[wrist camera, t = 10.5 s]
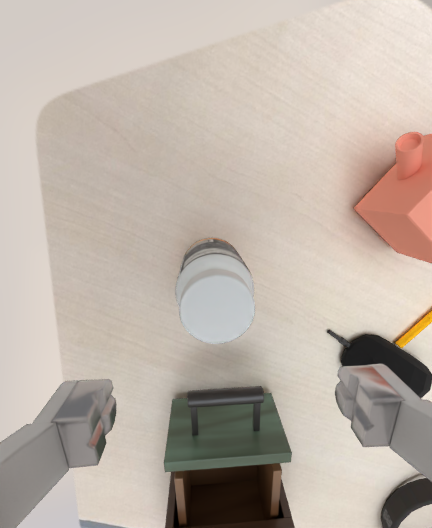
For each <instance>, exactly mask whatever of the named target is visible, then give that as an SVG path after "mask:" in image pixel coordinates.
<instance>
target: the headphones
mask: <svg viewBox="0 0 432 528" xmlns="http://www.w3.org/2000/svg"><path fill="white" fill-rule="evenodd" d="M429 504H432V482H431V481H430V480H429V479H428V478H424V479H419V480H416V481H413V482H410V483H407V484H405V485H404V486H402V487H400V488H398V489H397V490H396V491H395V492H394V493H393V494H392V495H391V496H390V498H389V499H388V500H387V502H386V504H385V506H384V508H383V510H382V516H381V518H382V524H383V528H398V527H399V525H400V523H401V522H402V521H403V520H404V519H405V518H406V517H407V516H408V515H409V514H410V513H411V512H412V511H414V510H416V509H418V508H421V507H423V506H426V505H429Z"/></svg>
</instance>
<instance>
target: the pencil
mask: <svg viewBox="0 0 432 528" xmlns="http://www.w3.org/2000/svg"><path fill="white" fill-rule="evenodd" d="M431 322H432V311H430V312H429V313H428V314H427V315H426V316H425V317H424V318H423V319H421V320H420V321H419V322H418V323H417V324H416V325H415V326H413V327H412V328H411V329H410V330H409V331H408V332H407V333H405V334H404V335H403V336H402V337H401V338H400V339H399V340H398V341H396V342H395V344H397V345H398V346H399V347H400V348H403V347H404V346H405V345H406V344H407V343H408V342H410V341H411V340H412V339H413V338H414V337H415V336H416V335H418V334H419V333H420V332H421V331H422V330H423V329H424V328H426V327H427V326H428V325H429V324H430V323H431Z"/></svg>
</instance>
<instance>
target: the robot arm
mask: <svg viewBox="0 0 432 528" xmlns="http://www.w3.org/2000/svg"><path fill="white" fill-rule="evenodd" d="M338 377H339V379H340V380H341V381H340V382H339V383H338V384H337V385H336V390H335V396H336V401H337V404H338V407H339V409H340V411H341V412H342V414H343V415H344V416H345V417H347V418H348V419H350V420H351V428H352V430H353V432H354V433H355V435H356V436H357V438H358V440H359V441H360V443H361V444H362V446H363V447H377V446H390V448H391V449H392V450H393V451H394V452H396V453H397V454H398V455H399V456H401V457H402V458H403V459H404V460H405V461H407V462H408V463H409V464H410V465H412V466H413V467H414V468H415V469H417V470H418V471H419V472H420V473H422V474H423V475H424V476H425V477H426V478H428V479H429V480H430V481H431V482H432V402H430V401H428V400H422V399H421V398H420V397H419V396H417V395H416V394H415V393H414V392H413V391H412V390H411V389H410V388H409V387H408V386H407V385H406V384H405V383H404V382H403V381H402V380H401V379H400V378H399V377H398V376H397V375H396V374H394V373H393V372H392V371H391V370H390V369H389V368H388V367H387V366H386V365H384V364H371V365H360V366H344V367H340V368H339V370H338ZM112 391H113V384H112V381H111V380H110V379H102V380H80V381H65V382H63V383H62V384H61V385H60V387H59V388H58V389H57V390H56V392H55V393H54V394H53V396H52V397H51V399H50V400H49V401H48V403H47V404H46V405H45V407H44V408H43V409H42V411H41V412H40V414H39V415H38V416H37V418H36V419H35V420H34V422H33V423H32V424H27V425H25V426H23V427H22V428H21V429H19V430H18V431H16V432H15V433H13V434H12V435H10V436H9V437H8V438H6V439H5V440H3V441H2V442H0V528H16V527H17V526H18V525H19V524H20V522H22V521H23V519H24V518H25V517H26V516H27V515H28V514H29V513H30V512H31V511H32V510H33V509H34V508H35V506H36V505H37V504H38V503H39V502H40V501H41V500H42V499H43V498H44V497H45V495H46V494H47V493H48V492H49V491H50V490H51V489H52V488H53V487H54V486H55V485H56V484H57V482H58V481H59V480H60V479H61V478H62V477H63V476H64V475H65V474H66V473H67V472H68V470H69V468H76V467H86V466H95V465H98V463H99V461H100V458H101V456H102V453H103V450H104V448H105V445H106V439H105V435H106V434H107V433H108V432H110V431H111V430H112V427H113V424H114V421H115V416H116V400H115V398H114V397H113V396H112V395H111V393H112Z"/></svg>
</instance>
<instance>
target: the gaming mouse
mask: <svg viewBox="0 0 432 528" xmlns="http://www.w3.org/2000/svg"><path fill="white" fill-rule="evenodd" d="M327 333H329V334H330V335H331V336H333V337H334V338H336V339H337V340H338V341H339V342H340V343H341V344H342V345H344V346H346V347H347V348H346V349H345V350H344V353H343V355H342V358H341V363H342V366H343V367H344V366H360V365H371V364H384V365H386V366H387V367H388V368H389V369H390V370H391V371H392V372H393V373H394V374H396V375H397V376H398V377H399V378H400V379H401V380H402V381H403V382H404V383H405V384H406V385H407V386H408V387H409V388H410V389H411V390H412V391H413V392H414V393H415V394H416V395H417V396H419V397H420V398H422V397H423V396H424V395H425V394H426V393H427V392H429V391H430V388H431V383H432V374H431V372H430V371H429V369H428V368H427V367H426V366H425V365H424V364H422V363H421V362H420V361H419V360H417V359H416V358H414V357H413V356H411V355H410V354H408V353H407V352H405V351H403V350H401V349H400V348H398V347H397V346H395V345H393V344H392V343H390V342H389V341H387V340H385V339H383V338H381V337H380V336H375V335H364V336H362V337H360V338H358V339H356V340H354V341H352V342H351V343H349V342H347V340H345V339H344V338H342V337H341V338H340V337H339V336H338V335H336V334H335V333H333V332H332V331H330V330H328V331H327Z"/></svg>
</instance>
